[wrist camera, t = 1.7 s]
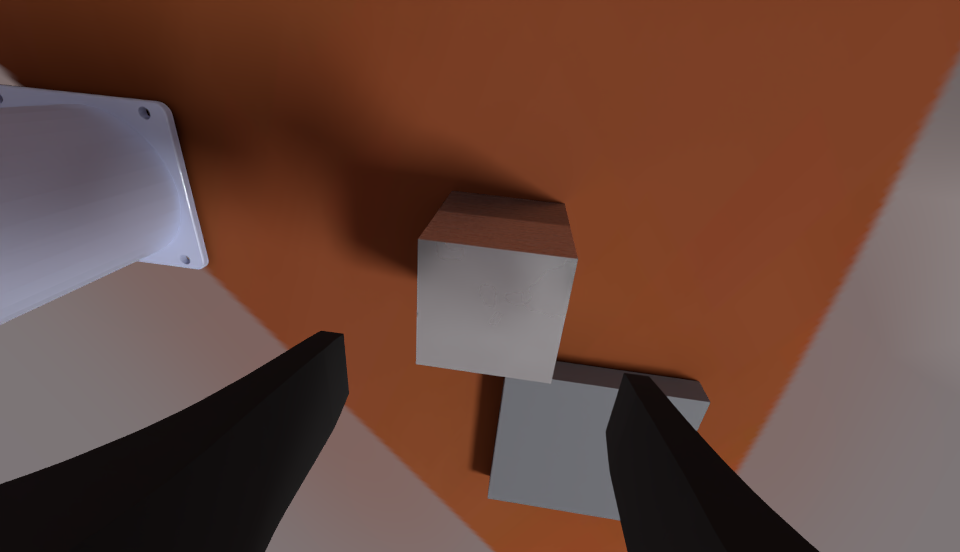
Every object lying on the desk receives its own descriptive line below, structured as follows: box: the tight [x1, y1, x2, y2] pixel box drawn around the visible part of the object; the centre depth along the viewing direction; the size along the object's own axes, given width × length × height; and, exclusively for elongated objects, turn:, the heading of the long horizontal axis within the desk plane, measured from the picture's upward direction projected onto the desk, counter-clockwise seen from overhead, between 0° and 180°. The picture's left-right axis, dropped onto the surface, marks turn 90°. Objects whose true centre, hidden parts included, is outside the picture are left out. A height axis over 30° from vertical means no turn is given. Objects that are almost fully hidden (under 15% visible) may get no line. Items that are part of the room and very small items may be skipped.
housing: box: [416, 191, 578, 384], centre depth 16 cm, size 5×5×6 cm
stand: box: [488, 361, 710, 520], centre depth 23 cm, size 10×10×2 cm
